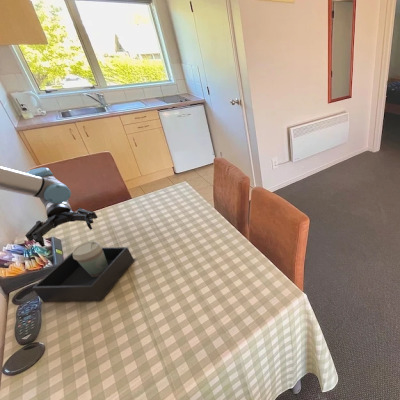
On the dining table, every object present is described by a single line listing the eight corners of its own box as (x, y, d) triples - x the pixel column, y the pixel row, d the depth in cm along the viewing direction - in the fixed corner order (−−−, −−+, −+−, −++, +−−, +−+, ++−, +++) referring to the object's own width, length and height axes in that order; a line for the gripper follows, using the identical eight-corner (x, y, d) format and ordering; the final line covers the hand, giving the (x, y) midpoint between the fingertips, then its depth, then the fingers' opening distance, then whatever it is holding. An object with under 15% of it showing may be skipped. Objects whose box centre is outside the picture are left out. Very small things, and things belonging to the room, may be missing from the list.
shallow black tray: (43, 301, 91) (31, 288, 87) (85, 261, 108) (77, 247, 104) (100, 300, 91) (91, 286, 87) (134, 260, 108) (127, 247, 104)
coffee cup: (103, 280, 98) (88, 256, 91) (80, 280, 98) (63, 256, 91) (118, 263, 105) (105, 240, 99) (97, 263, 105) (83, 240, 99)
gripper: (100, 207, 118) (111, 227, 105) (22, 233, 103) (25, 260, 90) (92, 193, 114) (103, 212, 101) (10, 217, 99) (11, 243, 86)
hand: (66, 234), depth 95 cm, fingers open, 13 cm apart
